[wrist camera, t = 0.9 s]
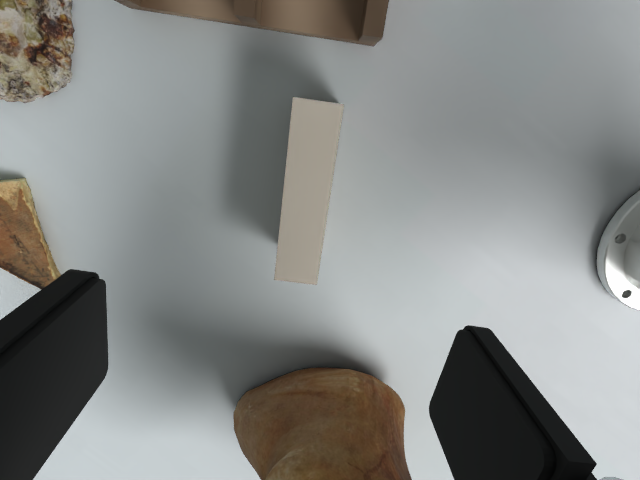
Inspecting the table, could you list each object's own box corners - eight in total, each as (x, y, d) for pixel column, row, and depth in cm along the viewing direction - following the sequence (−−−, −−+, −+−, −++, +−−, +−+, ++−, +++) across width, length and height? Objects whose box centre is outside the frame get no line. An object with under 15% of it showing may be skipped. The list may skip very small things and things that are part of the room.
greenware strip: (338, 103, 27) (343, 104, 21) (317, 251, 31) (316, 284, 26) (298, 97, 27) (292, 97, 21) (282, 247, 31) (274, 279, 25)
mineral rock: (43, 135, 25) (-111, 65, 22) (64, 123, 29) (-64, 62, 26) (100, -17, 23) (-65, -126, 19) (116, -8, 26) (-20, -98, 23)
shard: (74, 294, 33) (61, 304, 31) (-10, 297, 33) (-27, 308, 31) (35, 175, 29) (18, 180, 27) (-59, 179, 29) (-82, 184, 27)
